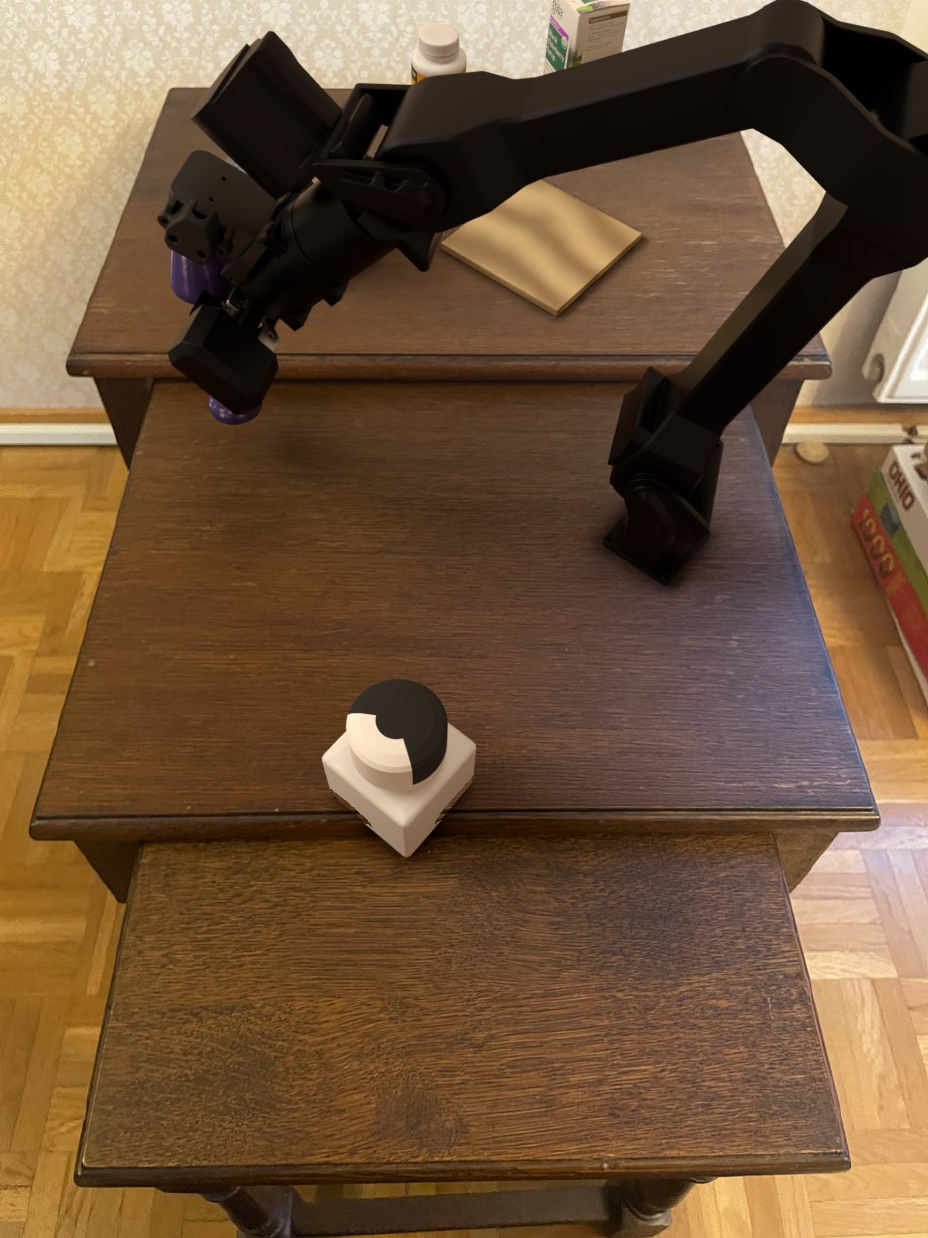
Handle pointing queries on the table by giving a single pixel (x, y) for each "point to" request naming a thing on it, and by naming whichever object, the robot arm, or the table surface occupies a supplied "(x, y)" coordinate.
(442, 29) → the supplement bottle
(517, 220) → the mat
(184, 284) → the toy lamp
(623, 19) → the syrup box
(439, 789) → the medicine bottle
